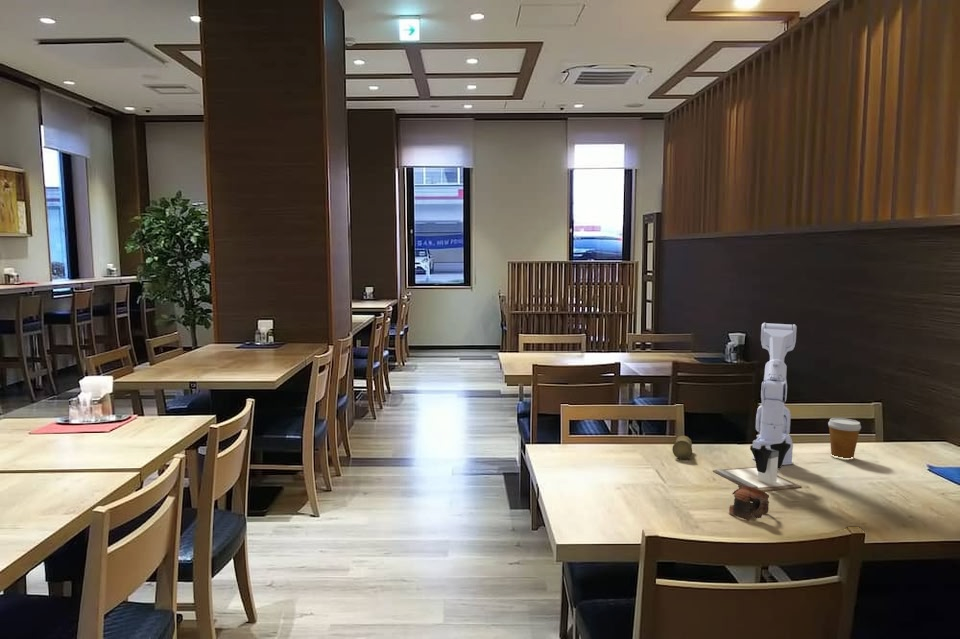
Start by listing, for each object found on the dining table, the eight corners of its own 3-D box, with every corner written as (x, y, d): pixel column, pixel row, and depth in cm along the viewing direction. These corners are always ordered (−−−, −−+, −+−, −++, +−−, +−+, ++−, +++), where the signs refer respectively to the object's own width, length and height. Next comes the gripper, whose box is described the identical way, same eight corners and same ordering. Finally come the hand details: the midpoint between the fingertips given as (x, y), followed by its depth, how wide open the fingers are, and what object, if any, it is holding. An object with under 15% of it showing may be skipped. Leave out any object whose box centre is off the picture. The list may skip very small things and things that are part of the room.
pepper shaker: (689, 461, 208) (691, 453, 218) (694, 443, 207) (695, 436, 217) (670, 456, 210) (672, 448, 220) (674, 438, 209) (676, 431, 219)
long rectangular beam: (764, 478, 190) (766, 447, 189) (776, 481, 187) (778, 451, 186) (757, 480, 188) (759, 449, 187) (769, 484, 185) (771, 453, 184)
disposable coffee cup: (865, 462, 209) (867, 425, 208) (835, 461, 210) (837, 424, 208) (848, 453, 219) (851, 417, 218) (820, 452, 219) (822, 417, 218)
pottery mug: (718, 511, 167) (728, 481, 169) (748, 526, 169) (758, 496, 171) (748, 517, 156) (758, 484, 158) (780, 533, 157) (790, 500, 159)
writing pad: (757, 467, 202) (757, 464, 201) (801, 487, 184) (801, 484, 184) (712, 471, 197) (712, 468, 197) (753, 492, 180) (753, 489, 180)
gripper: (773, 416, 193) (770, 461, 194) (744, 422, 185) (741, 470, 186) (796, 421, 187) (793, 468, 188) (767, 428, 179) (764, 477, 180)
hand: (769, 469), depth 187 cm, fingers open, 7 cm apart
